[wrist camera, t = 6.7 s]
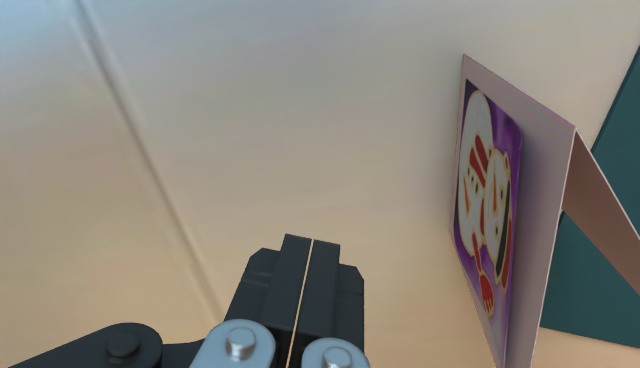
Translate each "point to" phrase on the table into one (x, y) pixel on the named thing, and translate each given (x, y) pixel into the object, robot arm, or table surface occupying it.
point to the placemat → (583, 256)
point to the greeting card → (524, 207)
